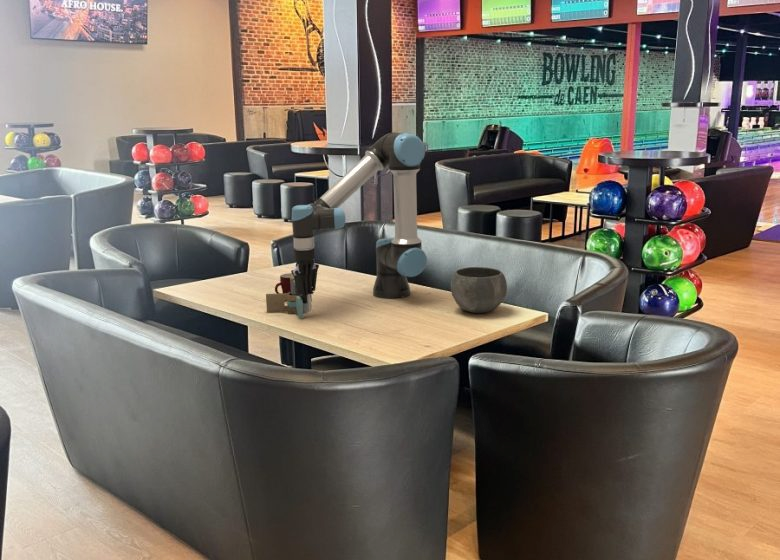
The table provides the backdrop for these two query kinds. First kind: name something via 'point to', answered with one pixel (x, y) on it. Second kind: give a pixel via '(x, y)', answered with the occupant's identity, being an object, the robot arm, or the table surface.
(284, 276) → the mug
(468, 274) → the bowl
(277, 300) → the square hinge knuckle
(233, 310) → the table surface
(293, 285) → the pin
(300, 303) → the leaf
